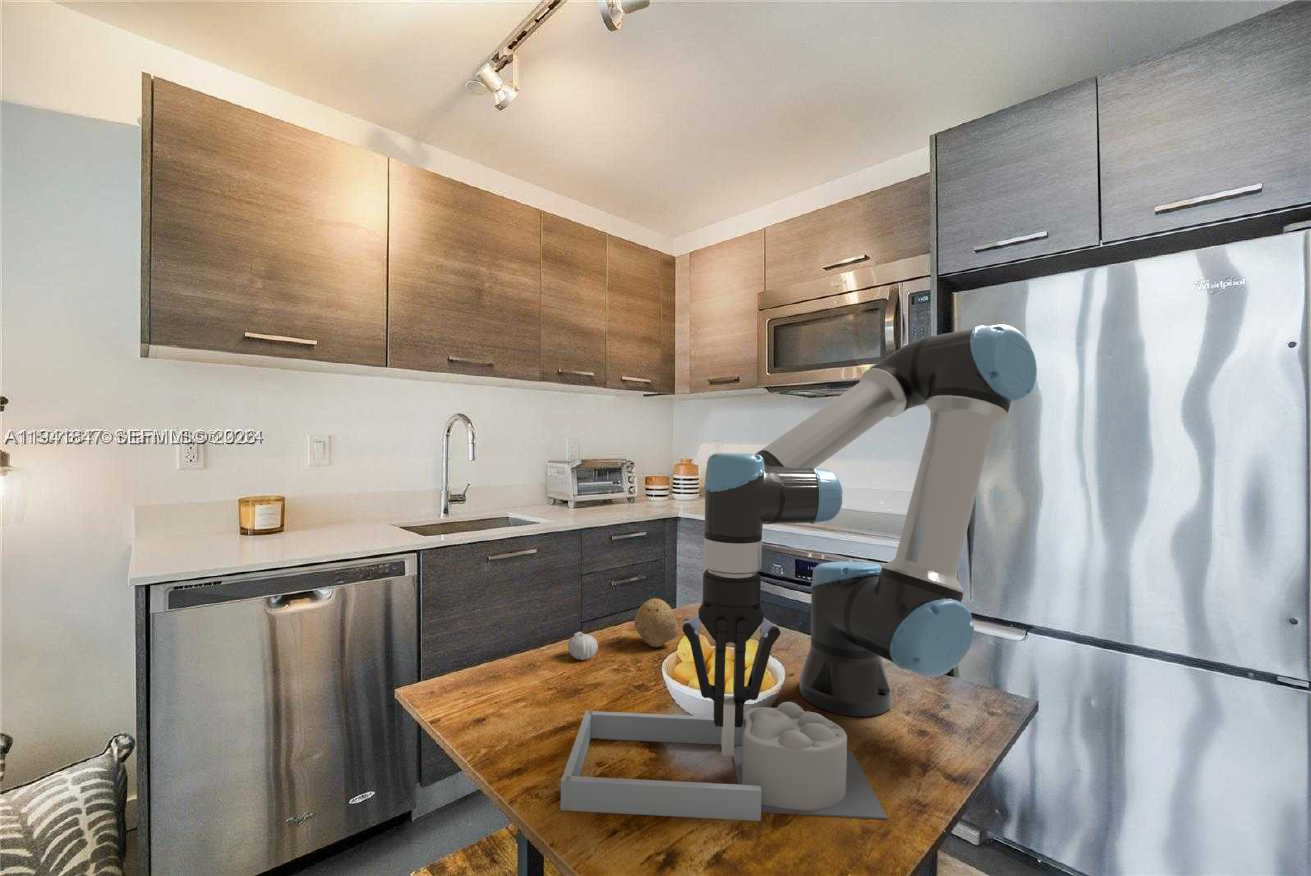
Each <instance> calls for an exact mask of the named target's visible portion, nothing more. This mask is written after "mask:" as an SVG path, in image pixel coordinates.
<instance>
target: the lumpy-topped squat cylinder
mask: <svg viewBox="0 0 1311 876" xmlns="http://www.w3.org/2000/svg"><path fill="white" fill-rule="evenodd" d="M847 748H848V735H847V733H846V731H845V729H843V727H841V726H840V725H839V724H837V723H835V722H834V721H832V720H831V719H828V718H826V717H825V716H823V715H822V714H820V713H818V712H813V711H811V710H807V711H805V710H804V709H803V708H802V707H801V705H798V704H797V703H795V702H792V701H784V702H781V703H780V704H778V706H777V707H765V706H763V707H762V706H761V707H752V708H749V709H748V710H746V711H744V712H743V736H742V785H757V786H761V791H762V792H761V804H763V805H768V806H773V807H779V808H786V809H795V810H819V809H823V808H826V807H830V806H833V805H835V804H837V803H838V802H840V801H841V800H842V799H843V798H844V797H845V795H846V770H847V751H848V749H847Z"/></svg>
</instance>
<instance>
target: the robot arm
mask: <svg viewBox="0 0 1311 876" xmlns="http://www.w3.org/2000/svg"><path fill="white" fill-rule="evenodd" d="M1037 367H1038V366H1037V360H1036V355H1035V353H1034V350H1033V349H1032V346H1031V344H1030V342H1029V340H1028V339H1027V337H1026V336H1025V335H1024V334H1023V333H1022V332H1021V331H1020V330H1018V329H1017V328H1015V327H1013V326H1011V325H1007V324H995V325H994V324H993V325H978V326H976V327H974V328H970V329H965V330H959V331H953V332H947V333H941V334H938V335H937V334H936V335H930V336H924V337H921V338H918V339H915V340H914V341H911V342H909V343H908V344H906V345H904V346H902V347H901V348H899V349H897V350H895V351H893V352H892V353H890V354H889V355H887V356H886V357H885V358H883V359H882V360H880V361H879V362H877V363H875V364H874V365H873V366H871V367H870V368H868V369H867V370H865V371H864V372H863V373H862V374H861V376H860V378H859V382H858V383H856V384H855V385H853V386H852V387H851V388H849V389H848V390H846V391H845V392H844V393H842V394H840V395H839V396H838V397H836V398H835V399H833V400H832V401H830V402H829V403H827V404H826V405H825V406H823V407H821V408H820V409H819V410H817V411H816V412H814V413H813V414H812V415H810V416H808V417H807V418H806V419H804V420H802V421H801V422H800V423H798V424H797V425H795V426H793V428H791V429H790V430H789V431H786V433H784V434H782V435H780V436H779V437H778V438H776V439H775V440H774V441H773V442H771V443H769V444H768V445H767V446H765V447H764V448H762V449H760V450H759V451H758V452H756V453H735V452H734V453H731V452H716V453H713V454H712V455H709V457H708V459H707V461H706V469H705V479H704V485H703V486H704V487H703V488H704V537H703V562H702V563H703V564H702V565H703V567H704V568H705V571H704V572H703V573H702V602H701V604H700V606H699V608H698V611H697V612H698V614H696V615H695V616H693V617H691V618H685V619H683V620H682V632H683V634H684V636H685V637H686V639H687V640H688V642H689V644H690V648H691V653H692V658H693V663H694V667H695V673H696V676H697V680H698V686H699V690H700V694H701V696H702V698H704V699H711V701H713V717H714V723H715V726H720V727H722V734H721V745H720V746H721V755H722V756H728V757H729V756H730V757H733V756H734V746H735V745H734V730H735V727H742V725H743V715H744V706H745V703H746V702H747V701H749V700H751V701H756V700H758V698H759V695H760V692H761V687H762V684H763V680H764V677H765V672H766V669H767V665H768V662H769V658H770V655H771V652H772V651H771V650H772V647H773V645H774V644H775V642H776V641H777V640H778V638H779V637H780V636H781V630H780V628H779V625H778V624H777V623H776V622H774V621H770V620H768V619H767V618H765V614H764V611H763V610H762V607H761V590H762V589H761V586H762V585H761V582H762V576H761V575H760V573H759V571H761V569H762V546H763V545H762V543H763V542H762V539H763V534H762V533H763V525H777V524H779V525H780V524H807V523H808V524H809V523H810V524H813V525H814V524H815V523H821V522H823V523H824V522H829V521H831V520H833V519H834V518H836V516H837V515H838V514H839V513H840V511H841V509H842V506H843V493H844V491H843V488H842V485H841V484H842V483H841V482H840V480H839V478H838V477H837V475H836V474H835V473H834V472H832V471H831V470H829V469H826V468H818V467H819V466H820V465H821V464H823V463H825V461H827V460H828V459H829V458H831V457H833V456H834V455H835V454H837V453H838V452H840V451H841V450H842V449H844V448H845V447H846V446H848V445H849V444H850V443H852V442H853V441H855V440H856V439H857V438H858V437H861V435H863V434H864V433H866V432H867V431H868V430H870V429H871V428H873V427H875V426H876V425H877V424H878V423H880V422H881V421H882V420H884V419H885V418H886V417H887V418H894V417H895V418H896V417H898V416H900V415H901V414H902V413H904V412H905V411H907V410H909V409H911V408H914V407H915V408H916V407H919V406H923V405H925V406H926V407H927V408H928V410H929V411H930V413H931V414H932V418H931V420H930V425H929V427H928V428H929V429H928V432H927V436H926V439H925V443H924V444H925V445H924V448H923V451H922V454H921V455H922V456H921V459H920V463H919V466H918V470H917V474H916V478H915V481H914V485H913V489H912V493H911V496H910V500H909V504H908V508H907V513H906V515H905V519H904V523H903V527H902V531H901V535H900V539H899V542H898V547H897V550H896V555H895V557H894V558H893V559H892V560H890V561H888V562H887V563H884V564H883V565H881V564H879V563H873V562H864V561H830V562H823V563H820V564H818V565H816V566H815V568H813V571H812V580H811V584H810V588H811V593H810V594H811V600H810V601H811V604H810V607H811V609H810V612H811V613H810V621H811V622H810V646H809V650H808V653H807V656H806V659H805V660H804V664H803V667H802V668H801V669H802V670H801V673H800V676H799V689H798V690H799V693H800V695H801V696H802V697H803V698H804V699H805V700H806V701H807V702H808V703H810V704H812V705H813V706H814V707H815V706H816V707H818V708H820V709H822V710H824V711H827V712H831V713H834V714H839V715H843V716H850V717H873V716H878V715H881V714H884V713H885V712H887V711H889V710H890V708H891V706H892V688H891V684H890V681H889V678H888V673H887V671H886V668H885V665H884V662H883V659H885V660H887V661H889V662H891V663H893V664H895V665H896V666H898V667H899V669H902V670H906V671H908V672H909V671H910V672H912V673H913V674H914V673H915V674H916V675H919V676H923V677H927V678H928V677H929V678H935V677H940V676H944V675H946V674H948V673H949V672H951V670H953V669H955V668H957V666H959V665H960V664H961V663H962V662H963V660H964V659H965V658H966V656H967V654H968V652H969V650H970V648H971V646H972V643H973V641H974V640H973V639H974V633H975V626H974V623H973V622H972V620H973V616H972V614H971V612H970V610H969V609H968V608H967V607H966V606H965V605H964V604H963V603H962V600H963V597H964V594H965V592H964V589H963V587H962V585H961V584H960V582H959V581H958V579H957V572H958V569H959V565H960V560H961V557H962V553H963V548H964V545H965V541H966V538H967V537H966V536H967V532H968V528H969V524H970V520H971V516H972V513H973V509H974V504H975V500H976V496H977V492H978V489H979V485H980V484H979V483H980V480H981V476H982V472H983V468H984V465H985V461H986V456H987V452H988V449H989V444H990V440H991V436H992V433H993V427H994V426H996V425H997V424H1000V423H1001V422H1003V421H1005V420H1007V418H1008V415H1009V411H1010V408H1011V404H1012V401H1013V402H1014V401H1015V402H1016V401H1019V400H1022V399H1024V398H1026V397H1027V396H1028V394H1030V393H1031V392H1032V391H1033V389H1034V387H1035V383H1036V381H1037V375H1038V374H1037V372H1038V371H1037V369H1038V368H1037ZM701 625H703V626H704V628H705V629H706V630H707V632H708V633H709V635H710V636H711V638H712V639H713V640H714V671H713V672H714V674H713V676H714V679H713V680H714V681H713V682H714V683H713V684H710V680H709V675H708V671H707V666H706V662H705V658H704V653H703V648H702V642H701V639H700V638H701V637H700V634H701V632H702V628H701V627H702V626H701ZM758 628H759V633H760V638H759V641H758V645H757V648H756V652H755V656H754V659H753V662H752V666H751V670H750V673H749V677H748V680H747V681H748V682H747V684H746V686H745V682H746V681H745V679H746V678H745V677H746V676H745V675H746V652H747V642H748V641H749V640H750V638H751V637H752V636H753V635H754V634H755V633H756V631H757V630H758ZM729 643H732V644H733V645H734V646H733V647H734V648H733V681H732V682H733V692H732V693H733V695H725V687H726V686H725V683H726V682H725V681H726V677H725V676H726V651H727V644H729Z"/></svg>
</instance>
